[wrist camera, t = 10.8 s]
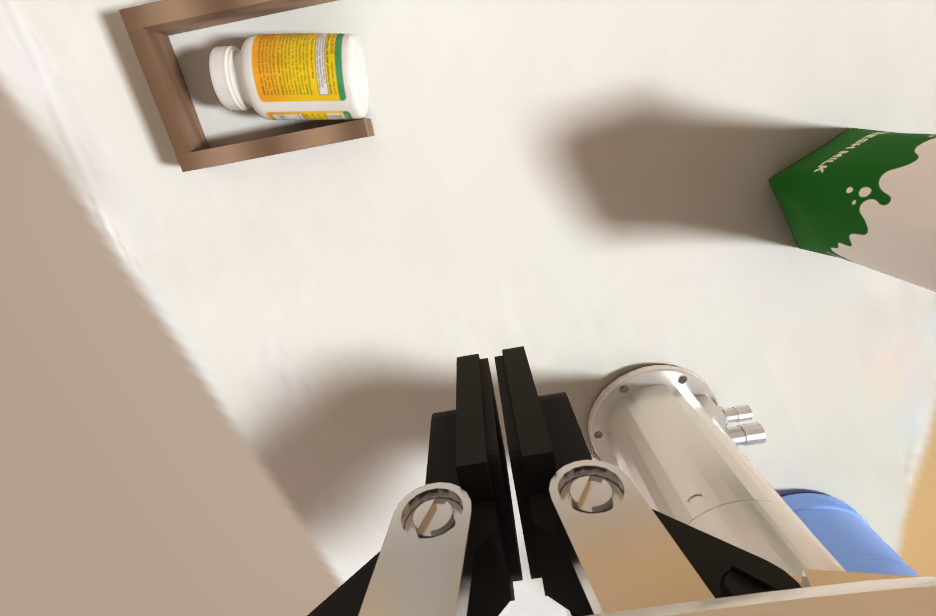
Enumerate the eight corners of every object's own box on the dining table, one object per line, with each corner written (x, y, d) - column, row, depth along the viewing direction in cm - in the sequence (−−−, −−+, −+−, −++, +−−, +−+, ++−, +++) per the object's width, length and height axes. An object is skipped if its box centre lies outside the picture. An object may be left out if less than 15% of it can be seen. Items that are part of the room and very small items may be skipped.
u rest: (337, -21, 33) (326, -34, 30) (374, 135, 36) (367, 136, 34) (147, 19, 33) (119, 10, 30) (203, 168, 37) (182, 172, 34)
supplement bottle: (367, 134, 34) (235, 138, 34) (371, 80, 36) (247, 83, 36) (350, 72, 29) (195, 75, 29) (355, 13, 31) (211, 16, 31)
